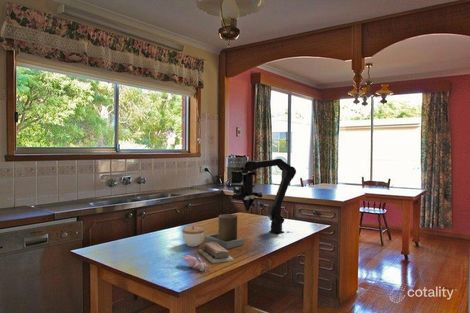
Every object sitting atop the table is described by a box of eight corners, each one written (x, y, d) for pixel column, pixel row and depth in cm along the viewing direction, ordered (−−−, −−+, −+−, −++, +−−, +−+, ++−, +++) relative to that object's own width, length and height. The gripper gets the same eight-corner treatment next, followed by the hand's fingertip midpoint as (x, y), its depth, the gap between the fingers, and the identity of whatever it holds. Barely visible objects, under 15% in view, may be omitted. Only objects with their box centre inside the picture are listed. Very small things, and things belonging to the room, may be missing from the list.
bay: (221, 237, 183) (221, 232, 183) (243, 244, 171) (243, 238, 171) (204, 241, 175) (204, 235, 175) (226, 249, 163) (226, 243, 163)
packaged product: (198, 242, 159) (217, 239, 163) (198, 252, 159) (217, 249, 163) (212, 253, 143) (234, 250, 147) (212, 264, 143) (234, 261, 147)
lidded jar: (194, 240, 177) (195, 222, 177) (208, 244, 170) (208, 226, 169) (177, 244, 170) (177, 225, 170) (190, 249, 162) (191, 229, 162)
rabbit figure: (212, 273, 136) (187, 258, 145) (214, 259, 135) (189, 245, 144) (201, 277, 131) (176, 262, 140) (203, 263, 130) (178, 248, 140)
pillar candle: (238, 244, 170) (238, 214, 170) (218, 245, 169) (219, 215, 169) (235, 239, 180) (236, 211, 180) (217, 240, 179) (217, 211, 179)
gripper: (249, 181, 203) (248, 207, 203) (225, 183, 190) (225, 210, 191) (263, 182, 195) (262, 210, 195) (239, 184, 182) (239, 214, 183)
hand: (247, 211), depth 191 cm, fingers closed
